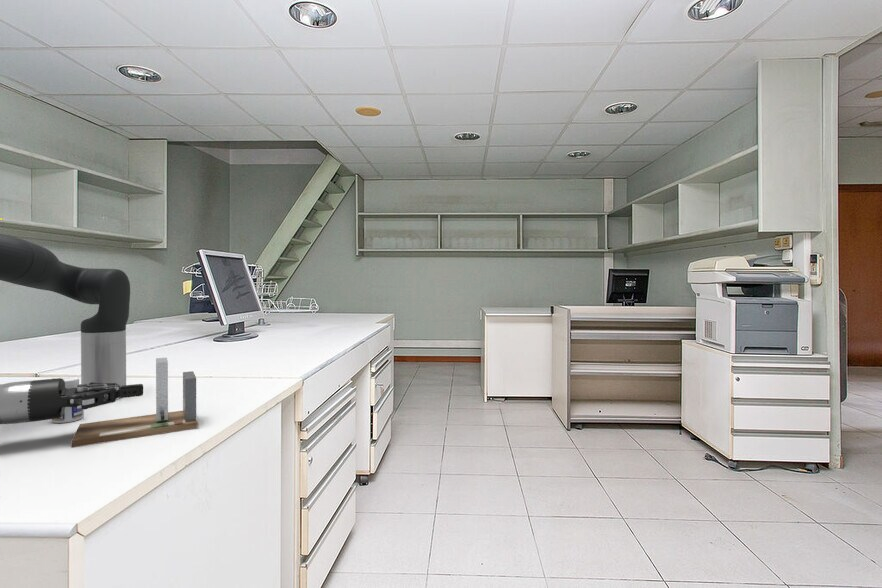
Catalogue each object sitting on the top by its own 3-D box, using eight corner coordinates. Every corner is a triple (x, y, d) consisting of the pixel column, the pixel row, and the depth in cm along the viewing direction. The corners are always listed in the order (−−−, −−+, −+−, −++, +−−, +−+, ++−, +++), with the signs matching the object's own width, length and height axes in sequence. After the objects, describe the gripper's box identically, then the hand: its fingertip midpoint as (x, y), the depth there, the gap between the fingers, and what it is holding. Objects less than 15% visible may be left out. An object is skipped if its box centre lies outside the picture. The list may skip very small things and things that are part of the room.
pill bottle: (82, 414, 99) (81, 375, 99) (85, 420, 95) (84, 379, 95) (50, 419, 95) (50, 378, 95) (52, 425, 91) (52, 383, 91)
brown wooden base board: (79, 429, 89) (79, 422, 89) (192, 414, 100) (192, 407, 100) (71, 447, 80) (71, 439, 80) (196, 428, 91) (196, 421, 91)
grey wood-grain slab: (182, 412, 98) (182, 372, 97) (193, 410, 99) (193, 371, 98) (185, 422, 91) (185, 379, 91) (196, 420, 92) (196, 377, 92)
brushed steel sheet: (156, 413, 94) (155, 358, 94) (167, 412, 95) (166, 357, 95) (156, 425, 86) (156, 365, 86) (168, 424, 88) (168, 364, 87)
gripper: (20, 388, 75) (142, 377, 85) (37, 374, 86) (143, 366, 96) (21, 431, 75) (143, 415, 85) (37, 412, 86) (143, 400, 96)
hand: (143, 389), depth 90 cm, fingers closed
